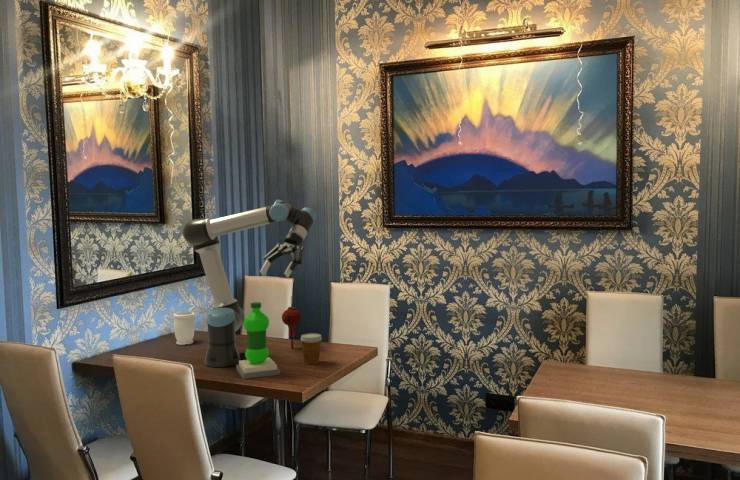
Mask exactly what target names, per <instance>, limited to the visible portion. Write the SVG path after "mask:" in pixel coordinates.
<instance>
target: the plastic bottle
mask: <svg viewBox="0 0 740 480" xmlns="http://www.w3.org/2000/svg"><path fill="white" fill-rule="evenodd" d="M261 307H262V302H260V301H255V302H250V309H251V312H250V313H249V314H248V315H247V316H246V317H245V318H244V322H243V329H244V330H245V331H246V349H245V353H244V357H245V358H246V359H245V360H248V361H249V362H251V363H252V364H261V363H263V362H264V361H265V360H266V359H267V357H269V355H270V350H269V348H268V347H267V329H268V328H269V326H270V319H269V317H268V316H267V315H266V314H265V313H264V312H262V311H261Z"/></svg>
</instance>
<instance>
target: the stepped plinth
mask: <svg viewBox="0 0 740 480" xmlns="http://www.w3.org/2000/svg"><path fill="white" fill-rule="evenodd" d="M235 369H236V372H237V373H238V374H239V376H240V377H241V378H242V379H243V380H246V379H254V378H255V379H256V378H262V377H273V376H279V375H280V374H281V370H280V369H279V367H278V365H277V363H276V362H275V361H274V360H273V359H272V358H271V357H270V356H268V357H267V359H266V360H265V361H264V362H263V363H261V364H252V363H251V362H249V361H248V360H247V359H243V360H241V359H240V361H239V363H238V364H236V365H235Z"/></svg>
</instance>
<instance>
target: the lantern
mask: <svg viewBox="0 0 740 480" xmlns="http://www.w3.org/2000/svg"><path fill="white" fill-rule="evenodd" d="M292 301H293V300H292V297H290V306H288V307H287V309H286V310H284V311H283V312H282V314H281V320H282V321H281V322H283V324H284V325H286V326H287V327H288V337H290V349H291V350H294V337H295V336H296V326H298V325H299V323H300V322H301V321H302V314H301V312H300V311H299V310H298V309H296V306H292Z"/></svg>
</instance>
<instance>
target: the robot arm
mask: <svg viewBox="0 0 740 480" xmlns="http://www.w3.org/2000/svg"><path fill="white" fill-rule="evenodd" d="M316 219H317V213H316V212H315V210H313V208H311V207H308V206H307V207H303V208H302V209H299V208H297V207H295V206H293V205H292V204H290V203H287V202H286V201H284V200H281V199H276V200H275V201H274V203H273V204H272V205H268V206H263V207H259V208H256V209H250V210H246V211H243V212H238V213H234V214H229V215H227V216H226V215H225V216H221V217H218V218H213V219H211V218H209V217H207V218H205V217H202V218H197V219H196V218H195V219H191V220H188V222H186V223H185V224H184V226H183V229H182V235H183V238H184V240H185V242H187V243H188V244H189V245H191V246H192V247H193V250H194V252H196V253H198V254H199V257H200V260H201V264H202V267H203V270H204V273H205V278H206V280H207V283H208V287H209V290H210V293H211V297H212V300H213V302H214V303H213V306H212V309H211V310H210V311H208V314H207V319H206V321H207V342H208V345H207V350H206V354H205V356H204V365H205V366H207V367H210V368H225V367H230V366H236V365H239V361H240V360H241V356H240V353H239V351H238V347H237V345H236V344H237V343H236V332H237V331H238V330H240V328H242V326H243V325H244V323H243V322H244V319H245V318H246V317H245V316H246V315H245V312H244V311H243V309H242V308H241V306H239V303H238V302H239V301H238V299H236V298H234V297H233V294H232V290H231V287H230V284H229V280H228V277H227V274H226V271H225V268H224V265H223V261H222V258H221V255H220V251H219V246H220V244H221V243H220V240H219V237H220V236H223V235H224V236H225V235H228V234H232V233H236V232H240V231H245V230H249V229H252V228H253V229H254V228H257V227H260V226H261V227H262V226H267V225H268V224H269V225H270V224H274V223H278V222H282V221H286V222H287V223H289V224H291V225H292V226H291V227H290V229H289V231H288V233H287V234H286V236H285V238H284V240H283V241H284V243H282V244H280V243H279V242H278V243H277V244H276V245H275V246H274V247H273V248H272V249H271V250H270V251H268V253H267V254H265V255H264V256H263V257H262V259H263V260H264V262H263V264H262V267H261V269H260V270H259V273H260V274H261V276H263V277H264V276H265V275H266V273H267V271H269V268H270V266H271V265H272V264H271V263H272V262H273V261H275V260H277V259H278V258H280V257H281V256H284V255H288V256H290V257H291V259H292V260H291V261H290V263H289V264H288V265H287V267H286V269H285V271H284V272H283V273H284V275H285V277H286V278H289V277H290V276H291V274H292V272H293V271H294V270H295V268H296V267H297V266H298V265H302V264H303V251H304V249H305V247H304V246H303V245H302V244H303V243H304V242H303V241H304V240H305V238H306V237H307V235H308V233H309V231H310V229H311V228H312V226H313V225H314V223H315V221H316ZM296 252H297V253H296Z"/></svg>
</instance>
